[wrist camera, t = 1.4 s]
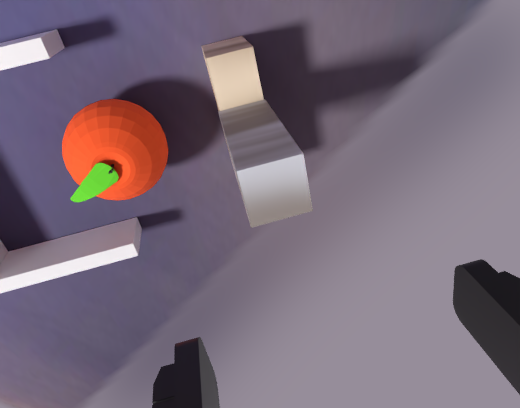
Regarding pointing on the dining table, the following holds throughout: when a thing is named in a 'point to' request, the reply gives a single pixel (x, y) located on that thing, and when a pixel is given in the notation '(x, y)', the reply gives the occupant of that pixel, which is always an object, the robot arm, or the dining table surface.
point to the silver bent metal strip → (256, 136)
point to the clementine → (114, 150)
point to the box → (72, 246)
